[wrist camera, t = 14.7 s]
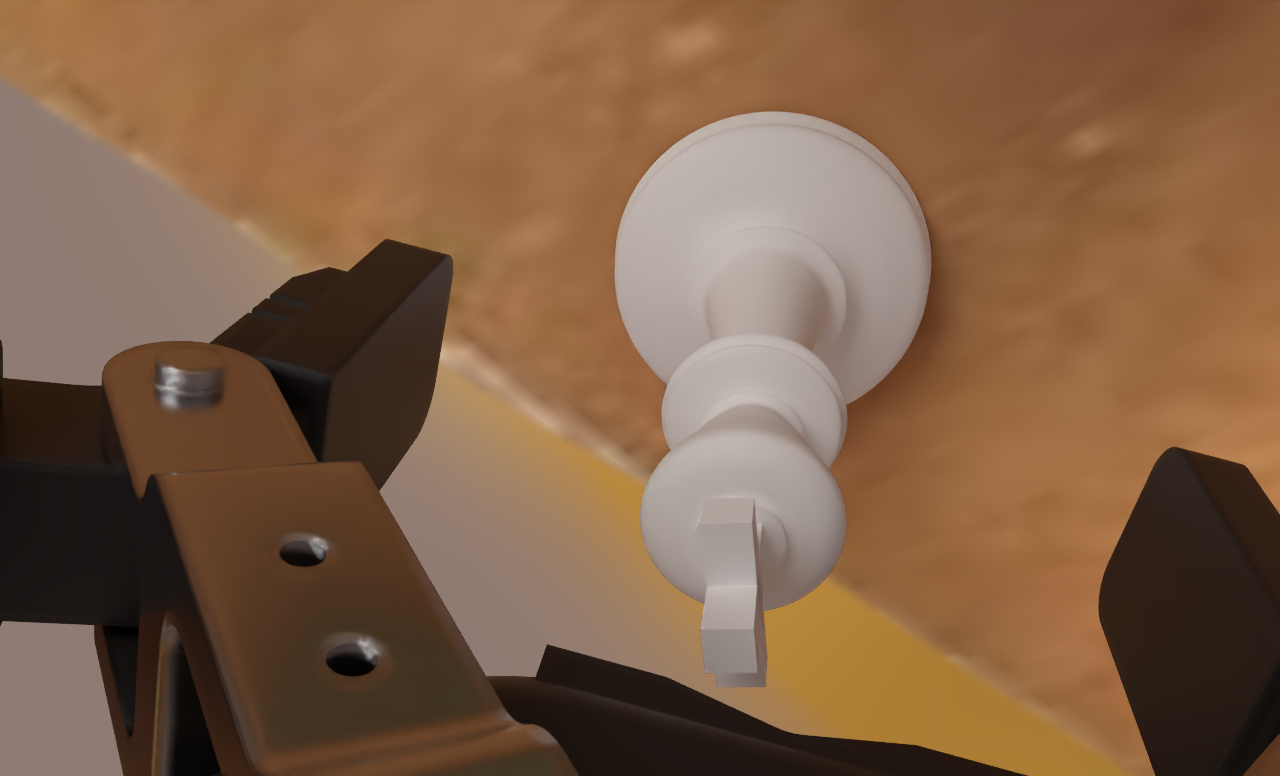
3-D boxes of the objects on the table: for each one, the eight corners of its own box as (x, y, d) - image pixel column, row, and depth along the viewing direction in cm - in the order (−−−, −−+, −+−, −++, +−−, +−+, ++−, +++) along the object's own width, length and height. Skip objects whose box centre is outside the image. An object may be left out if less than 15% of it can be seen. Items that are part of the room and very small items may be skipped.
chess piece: (633, 416, 20) (486, 871, 11) (597, 124, 18) (386, 390, 9) (932, 403, 19) (1034, 883, 10) (929, 96, 18) (1049, 358, 8)
